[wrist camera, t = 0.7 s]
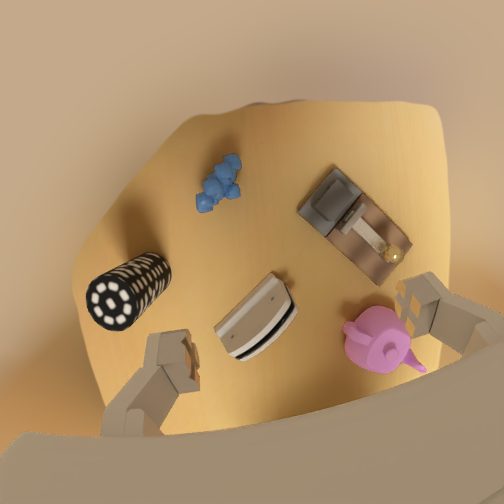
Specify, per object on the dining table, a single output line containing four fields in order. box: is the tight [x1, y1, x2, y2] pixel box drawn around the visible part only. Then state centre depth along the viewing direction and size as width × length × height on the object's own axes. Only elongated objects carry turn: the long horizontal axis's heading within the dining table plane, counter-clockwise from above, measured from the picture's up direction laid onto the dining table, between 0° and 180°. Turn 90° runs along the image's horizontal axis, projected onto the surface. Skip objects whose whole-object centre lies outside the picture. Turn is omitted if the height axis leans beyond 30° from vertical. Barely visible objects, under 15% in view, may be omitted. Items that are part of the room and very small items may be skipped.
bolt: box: [342, 210, 404, 264], centre depth 54 cm, size 12×3×7 cm, turn 50°
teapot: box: [341, 306, 427, 374], centre depth 58 cm, size 13×20×11 cm
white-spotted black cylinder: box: [86, 252, 171, 331], centre depth 50 cm, size 8×8×20 cm
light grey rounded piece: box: [214, 273, 298, 361], centre depth 58 cm, size 17×5×10 cm, turn 136°
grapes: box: [196, 154, 242, 213], centre depth 52 cm, size 12×7×12 cm, turn 147°
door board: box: [297, 168, 413, 287], centre depth 57 cm, size 22×11×5 cm, turn 50°
